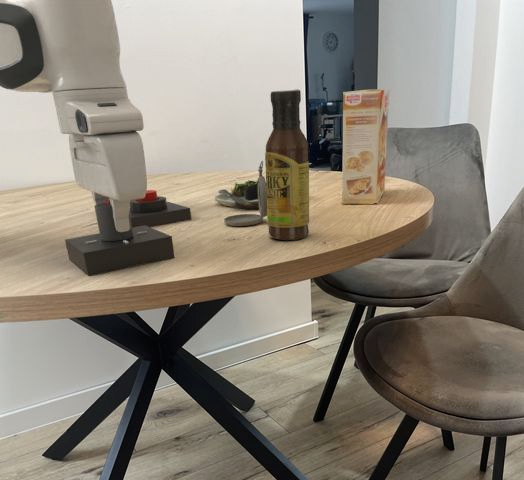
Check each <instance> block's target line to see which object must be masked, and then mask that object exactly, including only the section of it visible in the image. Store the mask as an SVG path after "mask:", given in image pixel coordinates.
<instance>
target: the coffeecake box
mask: <svg viewBox="0 0 524 480" xmlns="http://www.w3.org/2000/svg"><path fill="white" fill-rule="evenodd" d="M342 95H343V100H342V102H343V104H342V106H343V107H342V167H341V169H342V171H341V172H342V174H341V175H342V176H341V177H342V178H341V179H342V180H341V182H342V185H341V187H342V188H341V189H342V190H341V204H342V205H375V204H374V203H377V204H378V203H379V202H380V200H381V198H382V197H383V195H384V193H385V191H386V190H385V188H386V167H387V144H388V143H387V142H388V125H389V124H388V121H389V105H390V103H389V102H390V89H381V88H379V89H378V88H375V89H372V88H371V89H363V90H362V89H360V90H352V91H351V90H350V91H343V92H342ZM381 196H382V197H381Z"/></svg>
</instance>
